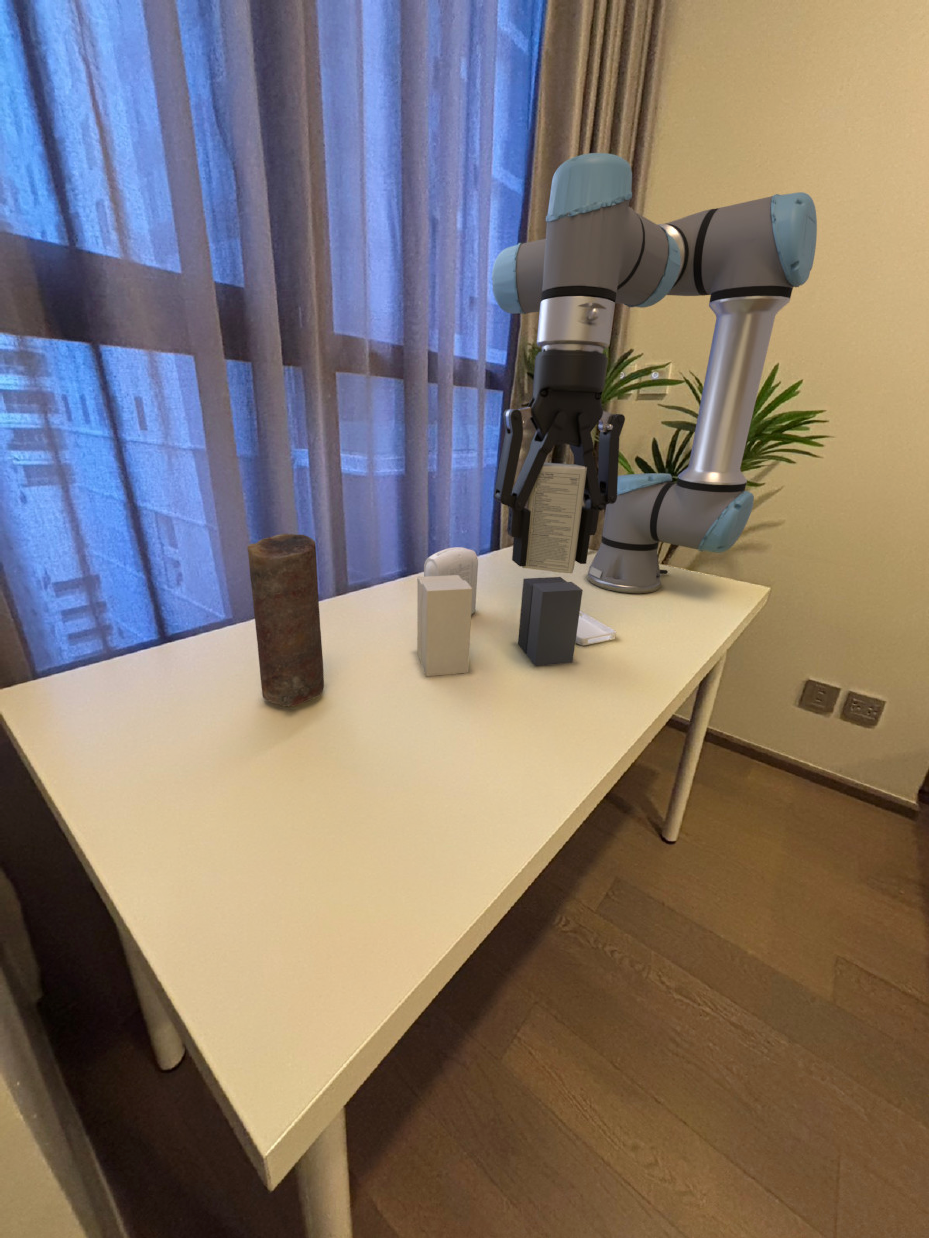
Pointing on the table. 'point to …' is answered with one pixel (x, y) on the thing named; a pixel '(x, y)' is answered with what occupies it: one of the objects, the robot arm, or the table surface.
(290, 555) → the candle
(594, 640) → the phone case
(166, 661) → the table surface
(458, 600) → the white rectangular block
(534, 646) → the dark grey upright block
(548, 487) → the cosmetic box
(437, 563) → the photo printer
